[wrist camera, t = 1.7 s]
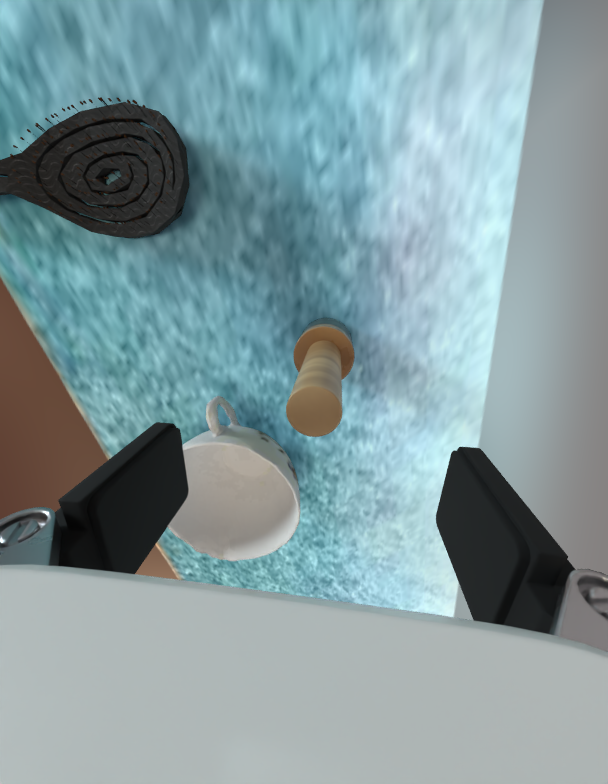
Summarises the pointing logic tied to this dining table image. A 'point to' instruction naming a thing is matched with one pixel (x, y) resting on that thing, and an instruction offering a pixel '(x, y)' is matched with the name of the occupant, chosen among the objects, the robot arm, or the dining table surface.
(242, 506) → the teacup
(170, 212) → the hairbrush
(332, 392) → the dish brush
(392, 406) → the dining table surface
